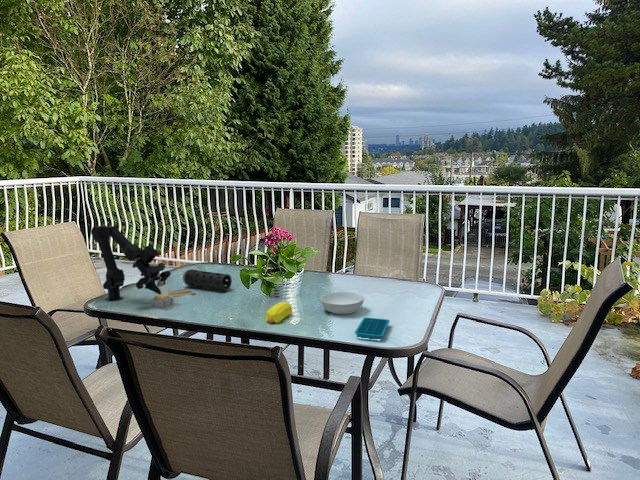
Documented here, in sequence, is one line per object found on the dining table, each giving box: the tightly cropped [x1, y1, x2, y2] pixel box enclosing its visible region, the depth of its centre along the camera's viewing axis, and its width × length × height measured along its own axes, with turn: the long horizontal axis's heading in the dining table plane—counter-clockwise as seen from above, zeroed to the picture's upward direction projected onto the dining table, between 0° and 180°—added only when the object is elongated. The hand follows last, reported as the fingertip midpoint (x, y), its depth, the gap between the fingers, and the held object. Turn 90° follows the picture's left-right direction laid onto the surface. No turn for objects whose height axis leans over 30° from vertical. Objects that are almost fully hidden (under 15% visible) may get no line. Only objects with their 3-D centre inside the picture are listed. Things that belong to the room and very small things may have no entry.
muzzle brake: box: [182, 268, 232, 293], centre depth 262 cm, size 10×28×10 cm, turn 64°
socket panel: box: [142, 296, 183, 312], centre depth 230 cm, size 16×11×4 cm
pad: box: [168, 288, 197, 298], centre depth 252 cm, size 12×12×1 cm
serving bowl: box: [319, 291, 365, 315], centre depth 224 cm, size 21×21×7 cm
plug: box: [153, 281, 170, 301], centre depth 230 cm, size 5×5×12 cm
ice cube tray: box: [354, 317, 390, 340], centre depth 197 cm, size 12×20×3 cm, turn 163°
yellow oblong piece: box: [265, 301, 293, 324], centre depth 214 cm, size 18×7×8 cm
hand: (163, 292), depth 229 cm, fingers closed on plug, 4 cm apart
